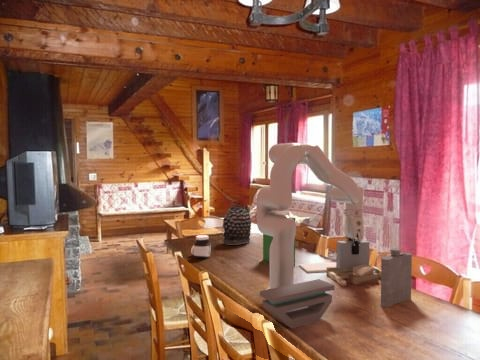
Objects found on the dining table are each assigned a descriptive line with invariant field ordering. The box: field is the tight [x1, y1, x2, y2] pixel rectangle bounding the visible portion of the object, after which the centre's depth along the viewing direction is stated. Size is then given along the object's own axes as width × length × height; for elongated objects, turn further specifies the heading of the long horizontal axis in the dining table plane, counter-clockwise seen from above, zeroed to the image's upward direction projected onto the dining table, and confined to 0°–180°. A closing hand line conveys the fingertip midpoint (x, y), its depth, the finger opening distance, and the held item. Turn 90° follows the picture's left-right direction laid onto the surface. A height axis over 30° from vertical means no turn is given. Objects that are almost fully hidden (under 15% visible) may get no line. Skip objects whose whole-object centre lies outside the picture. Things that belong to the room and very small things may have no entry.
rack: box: [326, 264, 381, 287], centre depth 176 cm, size 17×22×4 cm
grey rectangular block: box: [335, 240, 370, 269], centre depth 179 cm, size 4×14×12 cm, turn 100°
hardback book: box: [262, 216, 296, 266], centre depth 203 cm, size 18×7×24 cm, turn 31°
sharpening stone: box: [259, 278, 336, 329], centre depth 131 cm, size 25×8×11 cm, turn 120°
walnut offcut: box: [347, 272, 379, 286], centre depth 171 cm, size 5×12×4 cm, turn 109°
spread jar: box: [190, 234, 212, 260], centre depth 216 cm, size 12×11×12 cm
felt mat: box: [298, 261, 336, 274], centre depth 193 cm, size 12×22×1 cm, turn 100°
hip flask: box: [380, 247, 413, 308], centre depth 147 cm, size 16×4×20 cm, turn 123°
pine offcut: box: [353, 264, 374, 277], centre depth 171 cm, size 4×9×3 cm, turn 128°
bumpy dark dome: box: [222, 204, 252, 246], centre depth 250 cm, size 21×15×25 cm
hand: (352, 252), depth 179 cm, fingers closed on grey rectangular block, 4 cm apart
